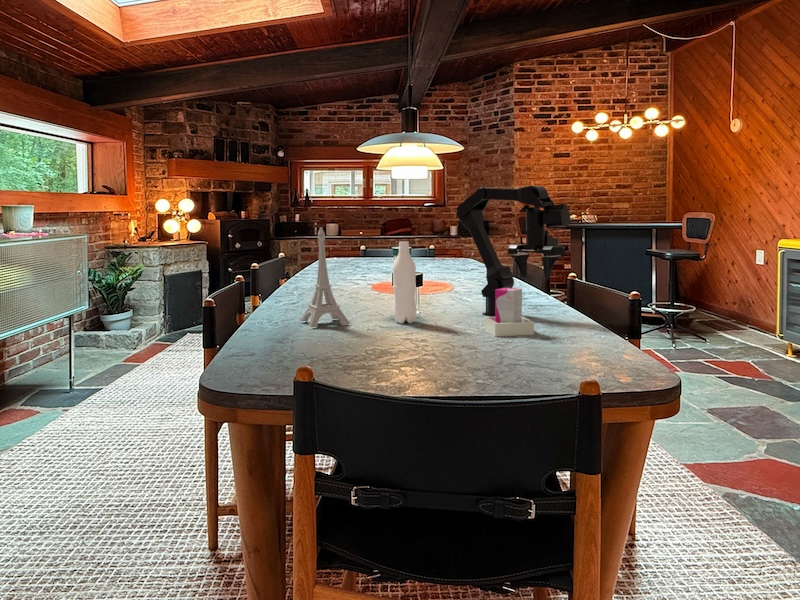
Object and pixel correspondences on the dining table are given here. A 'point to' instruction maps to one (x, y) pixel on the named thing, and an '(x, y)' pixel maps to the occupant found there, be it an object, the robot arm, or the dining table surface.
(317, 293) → the eiffel tower
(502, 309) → the supplement box
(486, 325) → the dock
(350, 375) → the dining table surface
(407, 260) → the water bottle
